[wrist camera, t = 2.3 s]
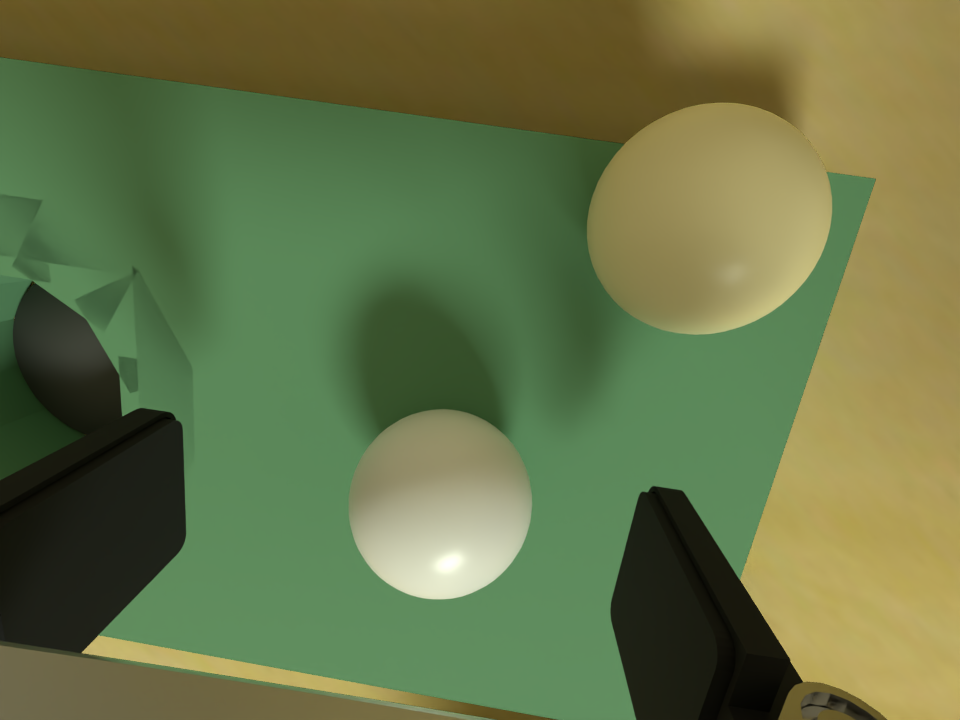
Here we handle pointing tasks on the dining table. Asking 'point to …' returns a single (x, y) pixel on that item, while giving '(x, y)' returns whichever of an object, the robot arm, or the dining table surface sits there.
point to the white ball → (440, 504)
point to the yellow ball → (709, 218)
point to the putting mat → (369, 367)
